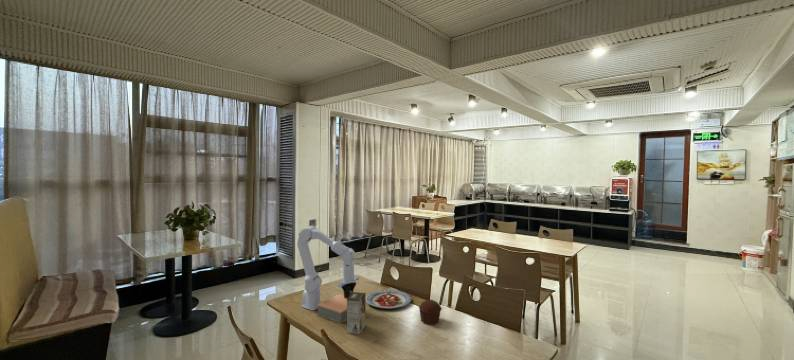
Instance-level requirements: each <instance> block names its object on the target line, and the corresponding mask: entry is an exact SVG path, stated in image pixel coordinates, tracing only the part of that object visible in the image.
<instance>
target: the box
mask: <svg viewBox="0 0 794 360" xmlns="http://www.w3.org/2000/svg"><path fill="white" fill-rule="evenodd" d="M317 316H319V317H321V318H324V319H327V320H329V321H330V320H331V321H334V322H336V323H339V324H342V323H344V322H346V321H347V311H345V312H343V313H338V312H335V311H332V310H329V309H326V308H323V307H320V306H318V309H317Z"/></svg>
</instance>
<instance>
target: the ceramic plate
mask: <svg viewBox="0 0 794 360" xmlns="http://www.w3.org/2000/svg"><path fill="white" fill-rule="evenodd" d="M411 301H412V297H411V296H410V294H408V293H406V292H405V291H401V290H395V289H385V290H384V289H383V290H382V289H381V290H377V291H374V292H371V293H369V294H368V295H367V296H366V304H368V305H370V306H373V307H375V308H380V309H397V308H402V307H404V306H407V305H408V304H409V303H410V302H411Z"/></svg>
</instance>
